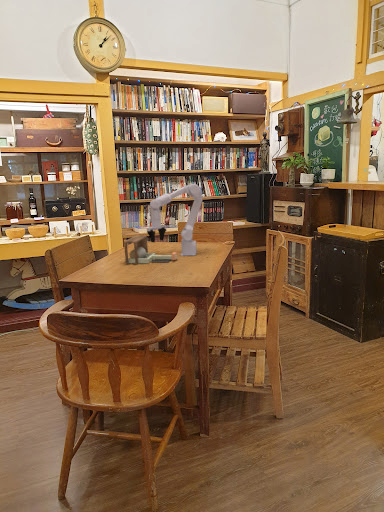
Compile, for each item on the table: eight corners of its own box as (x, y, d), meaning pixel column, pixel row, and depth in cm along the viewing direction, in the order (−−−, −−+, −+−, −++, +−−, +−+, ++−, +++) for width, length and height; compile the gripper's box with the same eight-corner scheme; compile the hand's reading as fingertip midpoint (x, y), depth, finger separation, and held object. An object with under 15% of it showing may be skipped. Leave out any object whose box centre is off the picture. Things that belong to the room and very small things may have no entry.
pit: (172, 258, 222) (172, 257, 222) (168, 262, 211) (168, 262, 211) (156, 258, 224) (156, 257, 224) (151, 262, 213) (151, 262, 212)
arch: (148, 256, 230) (146, 235, 227) (137, 264, 209) (135, 241, 206) (137, 256, 231) (135, 235, 228) (125, 264, 210) (123, 241, 208)
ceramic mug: (128, 261, 218) (128, 248, 217) (137, 258, 225) (136, 246, 224) (143, 263, 213) (142, 250, 212) (151, 260, 220) (150, 247, 219)
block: (179, 256, 224) (179, 250, 223) (173, 263, 208) (172, 256, 207) (134, 256, 229) (134, 250, 228) (125, 263, 213) (124, 256, 212)
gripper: (159, 217, 232) (160, 238, 235) (142, 220, 221) (144, 242, 224) (167, 218, 228) (168, 239, 231) (150, 220, 217) (152, 243, 220)
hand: (157, 241), depth 227 cm, fingers open, 7 cm apart
